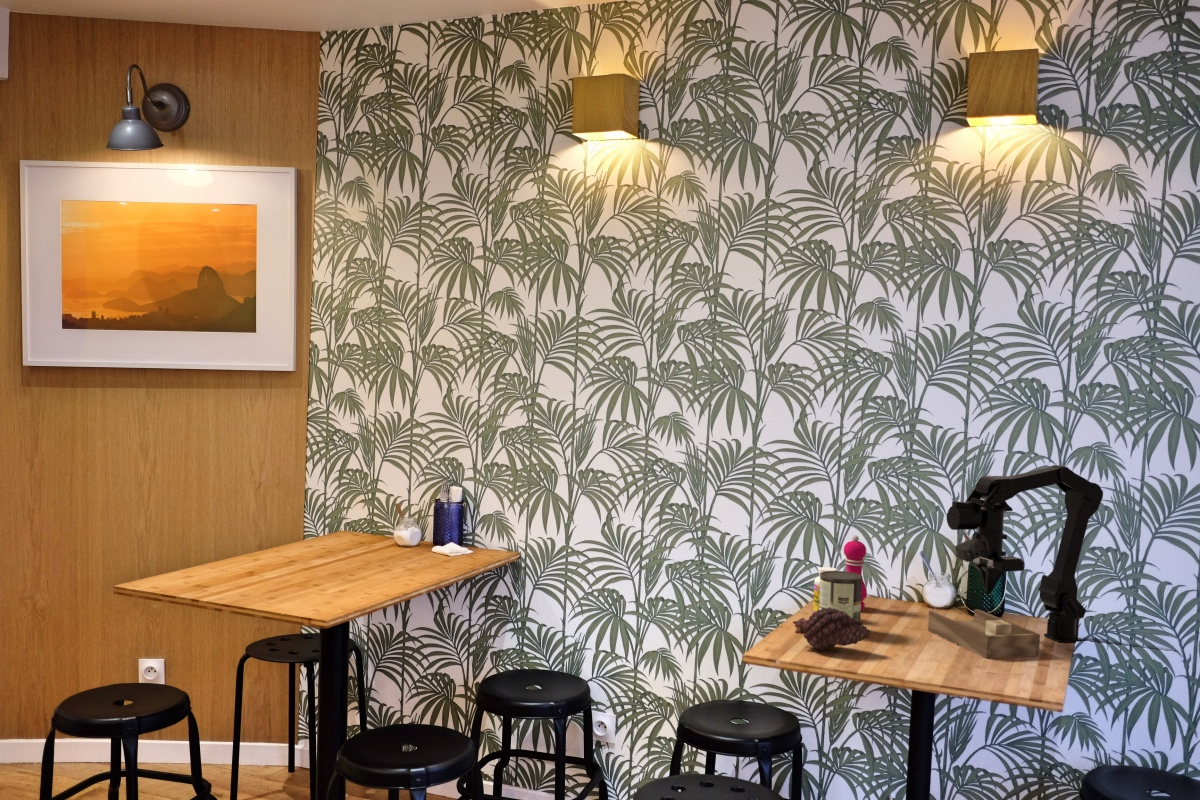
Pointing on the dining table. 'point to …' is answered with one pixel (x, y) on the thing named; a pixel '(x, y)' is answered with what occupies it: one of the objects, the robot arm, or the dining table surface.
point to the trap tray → (985, 636)
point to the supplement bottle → (817, 588)
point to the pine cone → (831, 629)
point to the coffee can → (841, 592)
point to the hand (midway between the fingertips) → (988, 593)
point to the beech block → (997, 627)
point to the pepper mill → (856, 562)
